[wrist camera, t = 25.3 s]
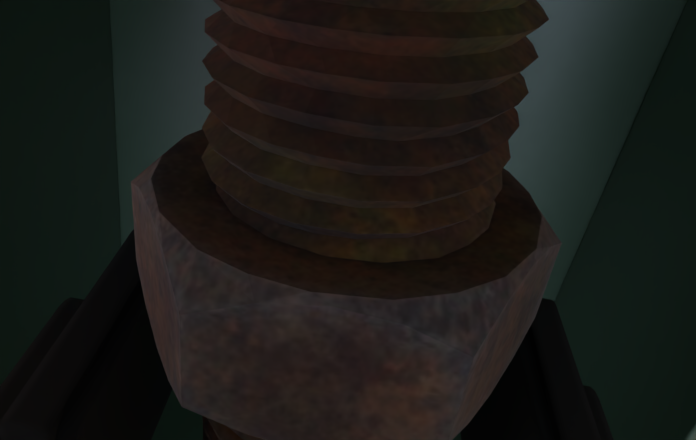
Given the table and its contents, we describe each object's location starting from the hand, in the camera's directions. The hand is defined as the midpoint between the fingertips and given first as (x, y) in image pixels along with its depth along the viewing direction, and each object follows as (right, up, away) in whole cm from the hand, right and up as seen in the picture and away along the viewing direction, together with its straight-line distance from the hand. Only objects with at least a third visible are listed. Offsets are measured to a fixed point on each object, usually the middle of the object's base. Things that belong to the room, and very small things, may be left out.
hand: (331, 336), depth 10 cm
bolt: (0, 0, +1) cm, 1 cm away
